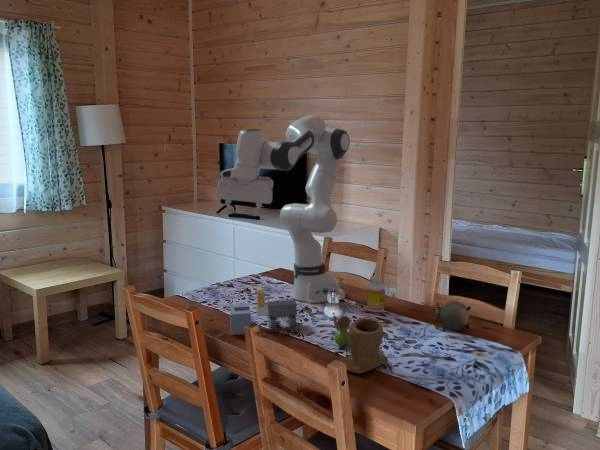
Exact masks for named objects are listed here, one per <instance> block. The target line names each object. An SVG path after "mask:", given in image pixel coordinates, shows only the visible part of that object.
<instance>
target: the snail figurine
mask: <svg viewBox="0 0 600 450" xmlns="http://www.w3.org/2000/svg"><path fill="white" fill-rule="evenodd" d="M332 321H333V325H334V328H335V330H337V332H336V333H335V334H334V342H335V344H336V345H337V346H339V347H347V346H348V345H349V329H350V326H351V319H350V317H349V316H347V315H341V316H340V317H337V315H336V313H335V312H332Z"/></svg>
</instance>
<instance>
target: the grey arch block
mask: <svg viewBox="0 0 600 450" xmlns="http://www.w3.org/2000/svg"><path fill="white" fill-rule="evenodd" d="M267 304H268V306H269V315H267V316H268V326H269V329H270V332H274V331H275V332H276V331H277V329H278V328H277V323H278V322H277V318H287V323H288V326H289V329H290V330H291V331H292V330H297V316H298V314H297V313H298V310H297V309H298V307H297V301H296V299H289V300H287V299H286V300H272V301H271V300H270V301H267V302H266V305H267Z"/></svg>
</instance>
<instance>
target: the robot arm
mask: <svg viewBox="0 0 600 450" xmlns="http://www.w3.org/2000/svg"><path fill="white" fill-rule="evenodd" d="M285 138H286V140H287V141H281V142H280V141H279V142H278V141H268V140H267V139H265V138H264V136H263V131H262V130H261V129H258V128H244V129H241V130H240V132H239V134H238V136H237V142H236V148H235V156H236V159H235V162H234V166H233V168H229V169H225V170H222V171H220V175H219V176H220V179H219V180H218V181H217V187H216V193H215V194H216V197H217V199H219V200H225V201H224V203H225V206H226V208H227V210H226V211H227V213H228V214H233V213H234V207H232V205H231V204H232V202H233V201H237V202H238V201H239V202H249V203H255V206H256V207H255V209H254V210H252V211H251V216H253V217H258V215H259V211H260V209H261V208H262V206H263V204H265V205H266V204H267V205H270V204H271V203H272V202H273V188H274V180H273V178H271V177H269V176H262V175H260V172H261V171H260V170H261V169H262V170H263V169H265V170H278V171H284V172H288V171H289V172H290V171H291V170H292V169H293V168H294V167H295V166H296V164H297V162H298V161H299V160H300V159H301V157H303V156H304V155H305V154H307V155H316V156H317V160H316V162H315V164H314V165H313V166H312V169H311V171H310V174H309V177H308V180H307V182H306V185H305V193H306V195H307V196H308V197H309V198H310V199H311V201H310V203H307V204H306V203H296V202H295V203H289V204H285V205H283V207H282V208H281V209H280V213H279V221H280V224H281V225H282V226H283V227H284V228H285V229H286V231H288V233H289V236H290V237H291V240H292V243H293V248H294V264H293V276H294V277H293V278H294V282H293V283H294V284H293V288H292V293H291V298H292V299H293V300H295V301H296V300H297V301H300V302H305V303H309V304H317V303H326V302H328V301H327V295H328V292H329V291H332V289H333V287H335V291H336V293H337V294H339V295H340V298H341V300H344V299H345V298H346V293H345V291H344V290H343V289H341V288H340V286H341V285H340V283H339V281H338V280H337V279H336V277H334V276H333V275H331V274H330V273H328V272H329V270H330V268H329V265H326V264H325V263H323V262H322V245H321V242H319V241H318V240H317V239H316V238H315V237H314V236H313V234H312V233H317V234H324V233H331V232H332V231H334V229H335V228H336V226H337V223H338V216H337V212H336V211H335V210H334V208H333V207H332V202H331V198H332V193H333V190H334V187H335V185H336V182H337V179H338V175H339V170H340V166H341V163H340V162H341V161H340V159H343V156H345V154H346V152H348V150H349V148H350V143H351V142H350V141H351V139H350V136H349V134H348V132H347V131H346V130H344V129H341V128H327V127H326V122H325V120H324V119H323V118H322V117H321V116H319V115H317V114H310V115H309V114H308V115H306V116H303V117H301V118H298V119H296V120H295V121H293V122H291V123H290V124H289V125H288V126H287V129H286V133H285Z"/></svg>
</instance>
